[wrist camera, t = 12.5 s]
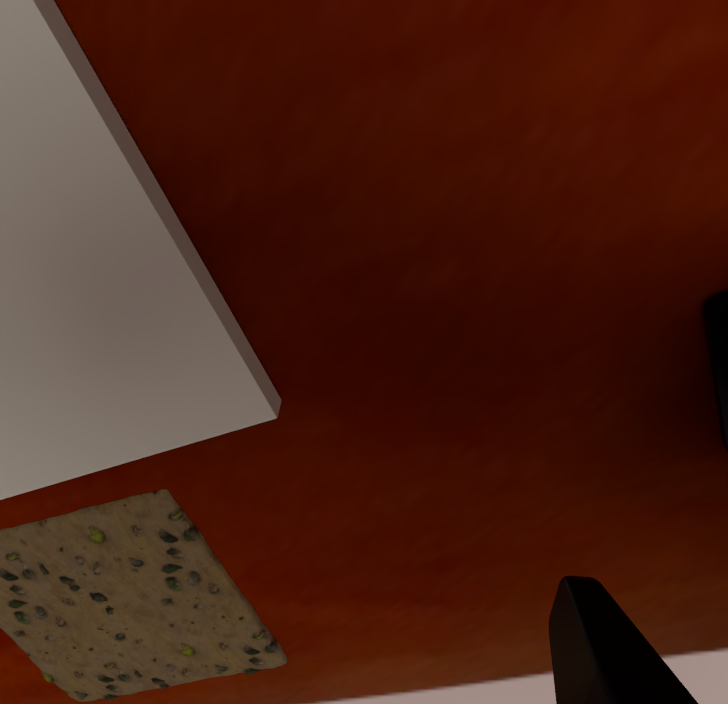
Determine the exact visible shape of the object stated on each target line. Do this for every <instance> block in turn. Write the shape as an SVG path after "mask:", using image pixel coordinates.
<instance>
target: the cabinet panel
mask: <svg viewBox="0 0 728 704" xmlns="http://www.w3.org/2000/svg"><path fill="white" fill-rule="evenodd" d="M281 401H282V400H281V398H280V396H279V395H278V393H277V391H276V389H275V388H274V386H273V384H272V382H271V381H270V379H269V377H268V375H267V374H266V372H265V370H264V368H263V367H262V365H261V363H260V361H259V360H258V358H257V356H256V354H255V353H254V351H253V349H252V347H251V346H250V344H249V342H248V340H247V338H246V337H245V335H244V333H243V331H242V330H241V328H240V326H239V324H238V323H237V321H236V319H235V317H234V316H233V314H232V312H231V310H230V309H229V307H228V305H227V303H226V302H225V300H224V298H223V296H222V295H221V293H220V291H219V289H218V288H217V286H216V284H215V282H214V281H213V279H212V277H211V275H210V274H209V272H208V270H207V268H206V267H205V265H204V263H203V261H202V259H201V258H200V256H199V254H198V252H197V251H196V249H195V247H194V245H193V244H192V242H191V240H190V238H189V237H188V235H187V233H186V231H185V230H184V228H183V226H182V224H181V223H180V221H179V219H178V217H177V216H176V214H175V212H174V210H173V209H172V207H171V205H170V203H169V202H168V200H167V198H166V196H165V195H164V193H163V191H162V189H161V188H160V186H159V184H158V182H157V180H156V179H155V177H154V175H153V173H152V172H151V170H150V168H149V166H148V165H147V163H146V161H145V159H144V158H143V156H142V154H141V152H140V151H139V149H138V147H137V145H136V144H135V142H134V140H133V138H132V137H131V135H130V133H129V131H128V130H127V128H126V126H125V124H124V123H123V121H122V119H121V117H120V116H119V114H118V112H117V110H116V109H115V107H114V105H113V103H112V102H111V100H110V98H109V96H108V94H107V93H106V91H105V89H104V87H103V86H102V84H101V82H100V80H99V79H98V77H97V75H96V73H95V72H94V70H93V68H92V66H91V65H90V63H89V61H88V59H87V58H86V56H85V54H84V52H83V51H82V49H81V47H80V45H79V44H78V42H77V40H76V38H75V37H74V35H73V33H72V31H71V30H70V28H69V26H68V24H67V23H66V21H65V19H64V17H63V15H62V14H61V12H60V10H59V8H58V7H57V5H56V3H55V1H54V0H0V500H1V499H5V498H8V497H12V496H15V495H18V494H22V493H25V492H29V491H32V490H35V489H39V488H42V487H46V486H49V485H52V484H56V483H59V482H62V481H66V480H69V479H73V478H76V477H79V476H83V475H86V474H90V473H93V472H96V471H100V470H103V469H107V468H110V467H113V466H117V465H120V464H124V463H127V462H130V461H134V460H137V459H141V458H144V457H147V456H151V455H154V454H157V453H161V452H164V451H168V450H171V449H174V448H178V447H181V446H185V445H188V444H191V443H195V442H198V441H202V440H205V439H208V438H212V437H215V436H219V435H222V434H225V433H229V432H232V431H236V430H239V429H242V428H246V427H249V426H252V425H256V424H259V423H263V422H266V421H269V420H273V419H276V418H277V417H278V413H279V409H280V405H281Z"/></svg>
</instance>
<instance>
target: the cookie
mask: <svg viewBox="0 0 728 704" xmlns="http://www.w3.org/2000/svg"><path fill="white" fill-rule="evenodd" d="M0 628H1V629H2V630H4V631H5V632H6V633H7V634H8V635H9V636H10V637H11V638H12V639H13V640H14V641H15V642H16V644H17V645H18V646H19V647H20V648H21V649H22V650H23V651H25V652H26V654H27V655H28V656H29V658H30V660H31V661H32V662H34V663H35V664H36V665H37V666H38V667H39V668H40V669H41V672H42V674H43V676H44V678H45V679H46V681H47V682H49V683H52V682H54V683H55V684H56V685H57V686H58V687H59V688H61V689H62V690H64V691H66V692H67V694H68V695H69V697H71V698H73V699H75V700H77V701H80V702H83V701H94V700H97V699H100V698H103V699H105V700H110V699H114V698H116V697H118V696H121V695H128V694H134V693H136V692H140V691H145V690H151V689H157V688H163V689H166V688H167V687H168V686H174V685H178V684H183V683H189V682H194V681H198V680H201V679H207V678H212V677H219V676H228V675H234V674H237V673H242V672H243V673H244V674H253V673H255V672H257V671H260V670H262V669H267V668H276V667H278V666H281V665H284V664H286V663H287V657H286V655H285V653H284V652H283V651H282V648H281V646H280V644H279V643H278V642H276V641H275V640H274V639H273V637H272V635H271V634H270V632H269V631H268V629H267V628H266V627H265V625H264V624H263V623H262V622H261V620H260V619H259V616H258V614H257V613H256V612H255V611H254V608H253V606H252V605H251V604H250V603H249V602H248V601H247V599H246V598H245V597H244V596H243V595H242V594H241V592H240V591H239V589H238V588H237V586H236V585H235V583H234V582H233V580H232V579H231V578H230V577H229V576H228V574H227V573H226V571H225V569H224V568H223V566H222V565H221V563H220V561H219V560H217V559H216V558H215V556H214V555H213V553H212V551H211V549H210V547H209V546H208V545H207V543H206V542H205V540H204V537H203V536H202V534H201V533H200V532H199V531H198V530H197V529H196V528H195V526H194V525H193V524H192V522H191V521H190V520H189V519H188V517H187V516H186V514H185V513H184V511H183V510H182V509H181V508H180V507H179V505H178V504H177V503H176V501H175V500H174V499H173V498H172V496H171V494H170V493H169V491H167V490H166V489H162V490H159V491H154V492H151V493H145V494H141V495H136V496H132V497H127V498H125V499H121V500H116V501H113V502H109V503H104V504H102V505H99V506H90V507H86V508H82V509H80V510H77V511H75V512H72V513H68V514H64V515H60V516H57V517H50V518H47V519H45V520H42V521H38V522H32V523H27V524H23V525H19V526H16V527H13V528H5V529H1V530H0Z"/></svg>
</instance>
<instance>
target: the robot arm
mask: <svg viewBox="0 0 728 704" xmlns="http://www.w3.org/2000/svg"><path fill="white" fill-rule="evenodd" d="M725 307H728V292H725V293H721V294H718V295H716V296H714V297H712V298H711V299H710V300H709V301H707V303H706V304H705V306H704V311H703V314H704V321H705V327H706V334H707V341H708V347H709V354H710V360H711V367H712V374H713V380H714V387H715V393H716V400H717V406H718V413H719V420H720V426H721V433H722V439H723V444H724V446H725V448H726V450H727V451H728V311H727V312H726V313H724V314H722V315H717V313H718V312H719V311H720V310H721V309H723V308H725ZM549 638H550V647H551V656H552V665H553V674H554V684H555V693H556V702H557V704H698V703H697V701H696V700H695V699H694V698H693V697H692V696H691V694H690V693H689V692H688V690H687V689H686V688H685V687H684V685H683V684H682V683H681V682H680V681H679V679H678V678H677V677H676V676H675V674H674V673H673V672H672V671H671V670H670V668H669V667H668V666H667V664H666V663H665V662H664V661H663V660H662V658H661V657H660V656H659V655H658V653H657V652H656V651H655V650H654V648H653V647H652V646H651V645H650V644H649V642H648V641H647V640H646V639H645V637H644V636H643V635H642V634H641V632H640V631H639V630H638V629H637V628H636V626H635V625H634V624H633V623H632V621H631V620H630V619H629V618H628V616H627V615H626V614H625V613H624V612H623V610H622V609H621V608H620V607H619V605H618V604H617V603H616V602H615V600H614V599H613V598H612V597H611V595H610V594H609V593H608V592H607V591H606V589H605V588H604V587H603V586H602V584H601V583H600V582H599V581H597V580H596V579H594V578H591V577H579V576H565V577H563V578H562V579H561V581H560V584H559V587H558V590H557V593H556V597H555V600H554V603H553V607H552V610H551V614H550V618H549Z"/></svg>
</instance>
